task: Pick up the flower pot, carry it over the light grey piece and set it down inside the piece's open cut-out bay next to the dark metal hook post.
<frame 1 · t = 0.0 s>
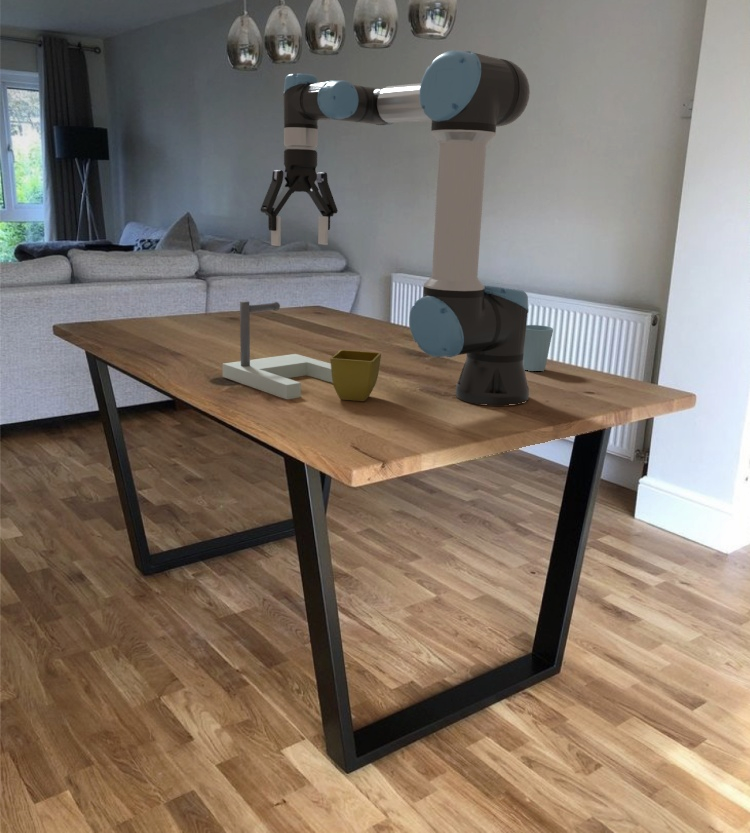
hand: (299, 245, 186), 28 cm above the table, fingers open, 13 cm apart
light grey piece: (291, 381, 176), on the table
cup: (533, 370, 196), on the table
flower pot: (355, 399, 164), on the table
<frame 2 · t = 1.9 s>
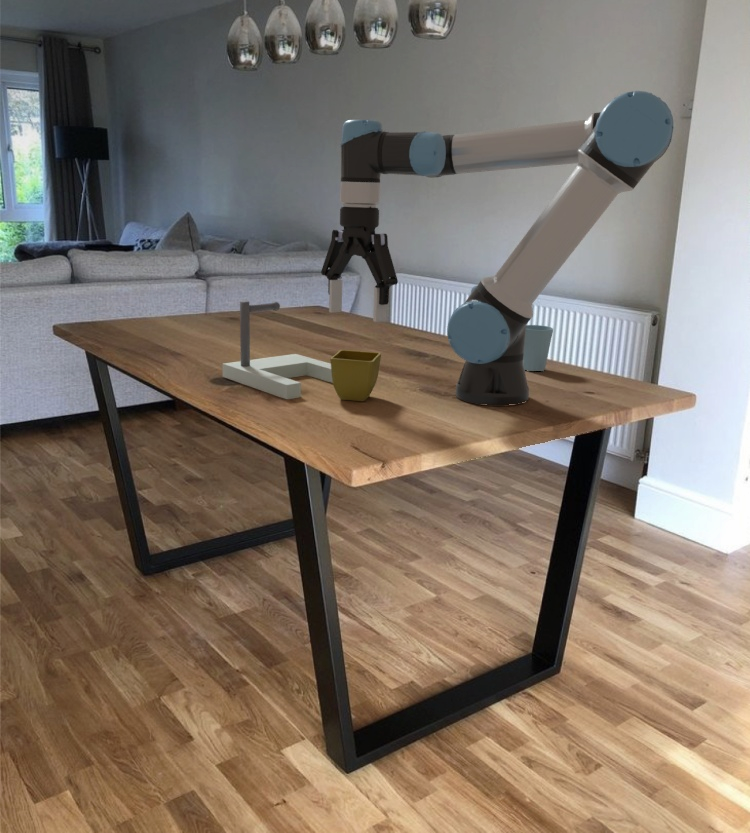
hand: (356, 316, 159), 17 cm above the table, fingers open, 13 cm apart
nothing on the table moved.
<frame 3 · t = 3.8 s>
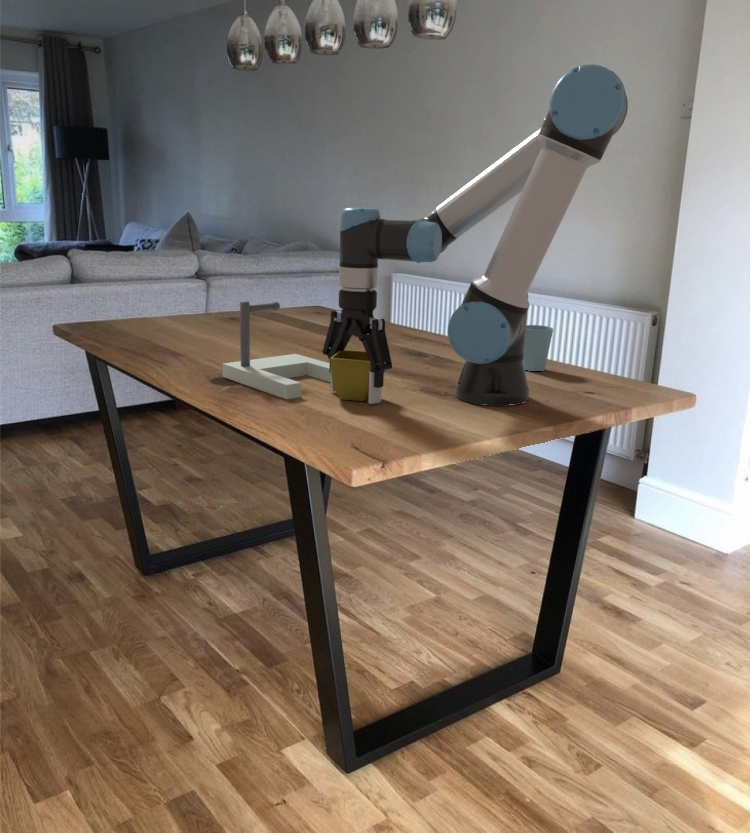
hand: (355, 396, 164), 0 cm above the table, fingers closed on flower pot, 11 cm apart
flower pot: (354, 399, 164), on the table, touching gripper
everything else where it was.
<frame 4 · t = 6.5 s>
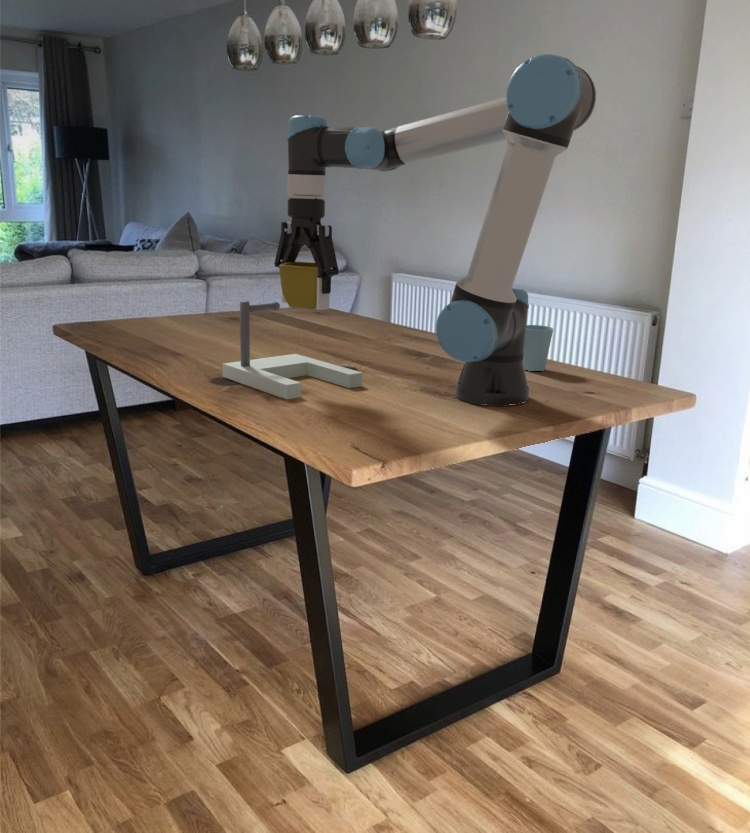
hand: (305, 305, 168), 17 cm above the table, fingers closed on flower pot, 11 cm apart
flower pot: (304, 308, 168), point 17 cm above the table, touching gripper
everything else where it was.
when the fingers open (2 cm above the table, at t = 9.5 s): flower pot moves 2 cm, resting in light grey piece.
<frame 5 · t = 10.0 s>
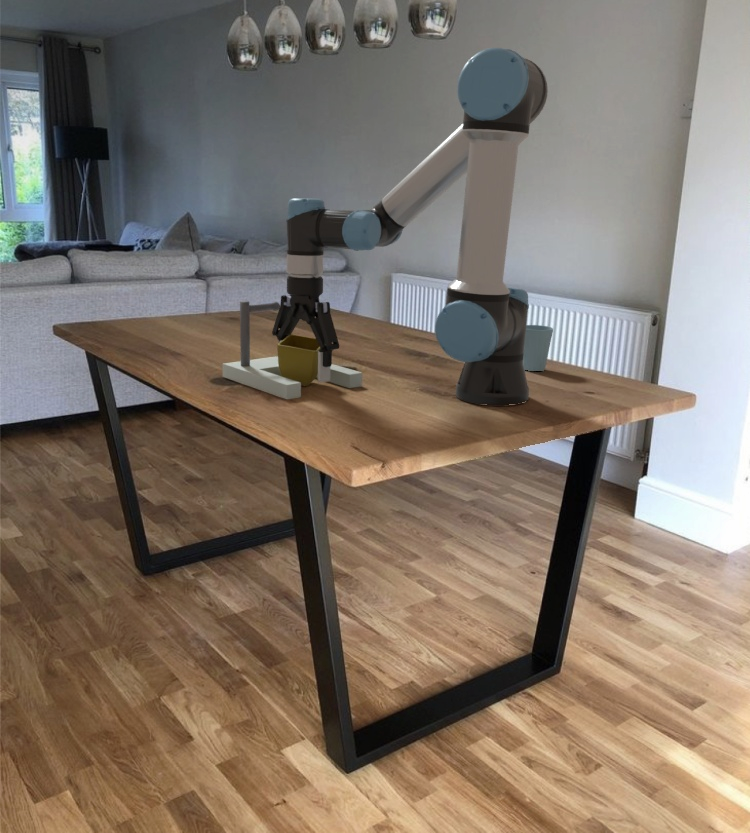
hand: (304, 375, 172), 2 cm above the table, fingers open, 13 cm apart
flower pot: (299, 382, 174), resting in light grey piece, touching gripper
everything else where it was.
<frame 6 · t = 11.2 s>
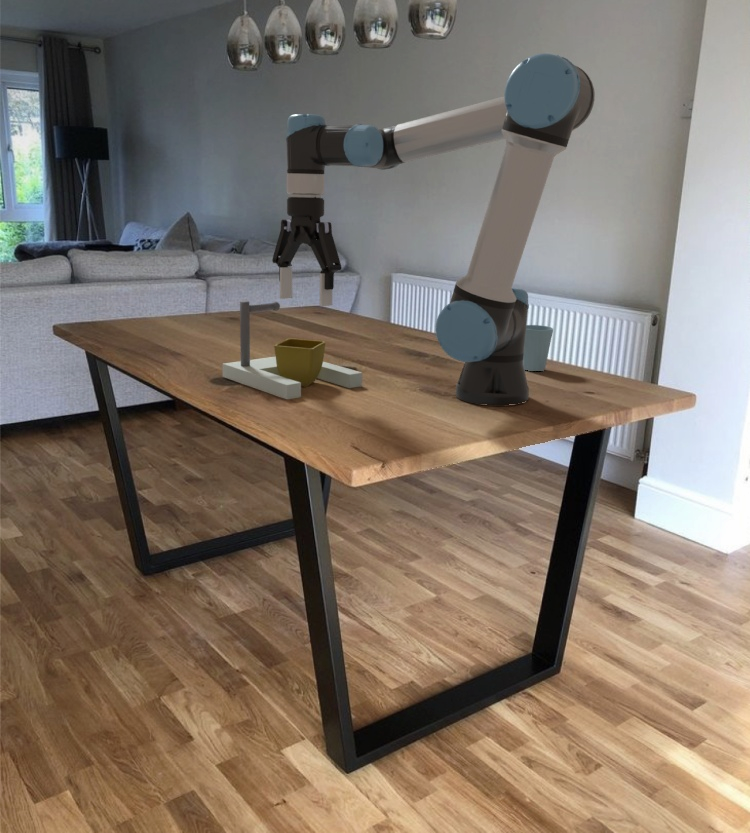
hand: (305, 301, 168), 18 cm above the table, fingers open, 13 cm apart
flower pot: (299, 384, 174), resting in light grey piece
everything else where it was.
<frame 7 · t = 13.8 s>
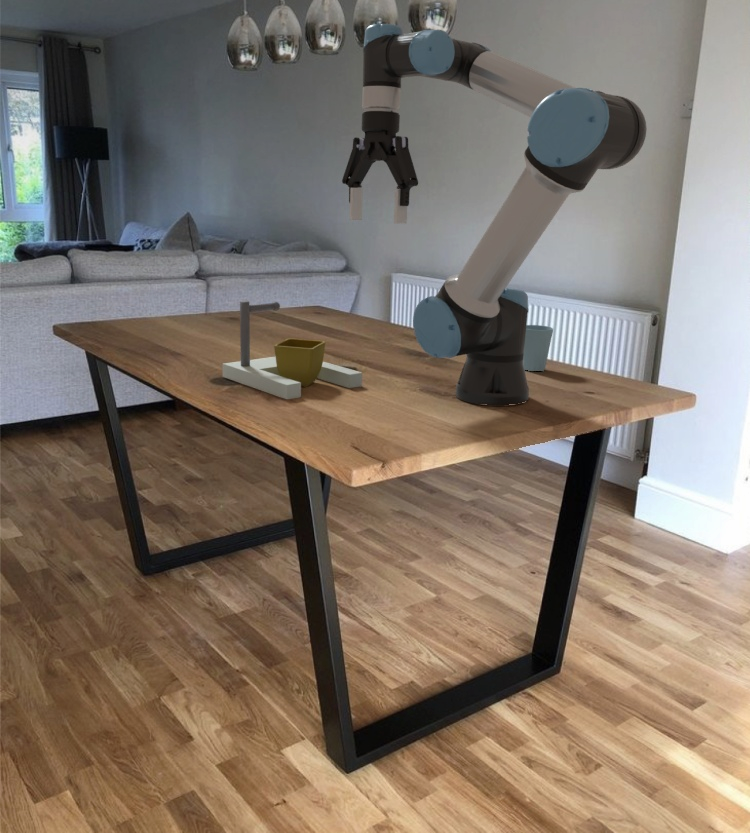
hand: (377, 221, 165), 35 cm above the table, fingers open, 13 cm apart
nothing on the table moved.
at the end: flower pot inside the target area (1.6 cm from its centre), resting in light grey piece; flower pot tilted 0°; the gripper is holding nothing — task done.
